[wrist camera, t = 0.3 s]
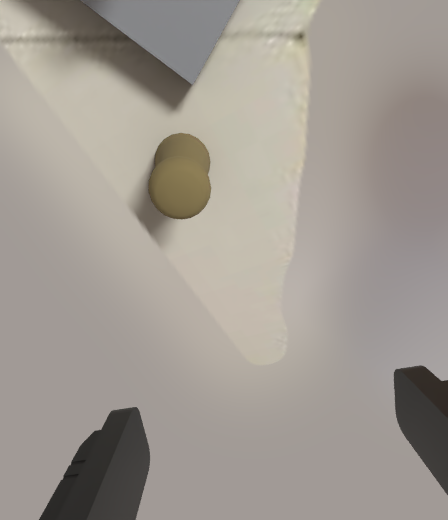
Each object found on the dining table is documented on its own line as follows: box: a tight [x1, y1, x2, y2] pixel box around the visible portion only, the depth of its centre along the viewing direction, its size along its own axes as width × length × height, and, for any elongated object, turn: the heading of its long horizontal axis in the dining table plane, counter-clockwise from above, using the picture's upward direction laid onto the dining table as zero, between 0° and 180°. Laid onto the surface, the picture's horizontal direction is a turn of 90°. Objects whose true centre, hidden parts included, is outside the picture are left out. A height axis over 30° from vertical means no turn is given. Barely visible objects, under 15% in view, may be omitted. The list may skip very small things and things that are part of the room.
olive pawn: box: [149, 133, 211, 219], centre depth 29 cm, size 6×6×11 cm
